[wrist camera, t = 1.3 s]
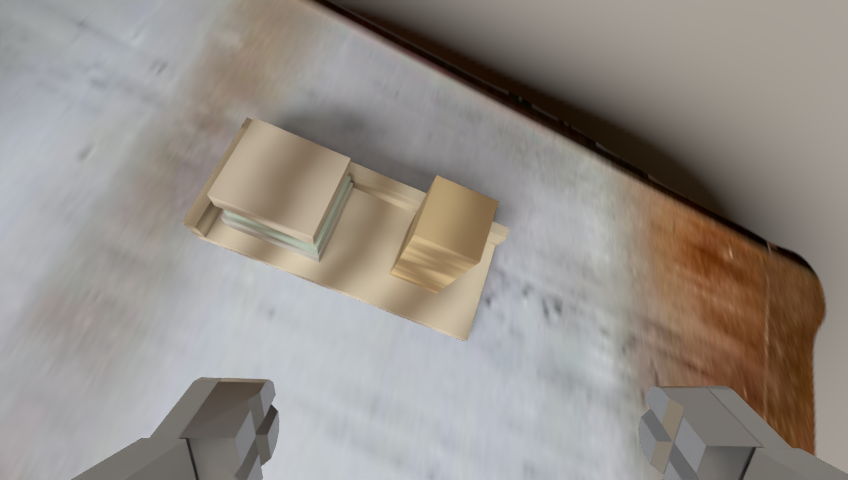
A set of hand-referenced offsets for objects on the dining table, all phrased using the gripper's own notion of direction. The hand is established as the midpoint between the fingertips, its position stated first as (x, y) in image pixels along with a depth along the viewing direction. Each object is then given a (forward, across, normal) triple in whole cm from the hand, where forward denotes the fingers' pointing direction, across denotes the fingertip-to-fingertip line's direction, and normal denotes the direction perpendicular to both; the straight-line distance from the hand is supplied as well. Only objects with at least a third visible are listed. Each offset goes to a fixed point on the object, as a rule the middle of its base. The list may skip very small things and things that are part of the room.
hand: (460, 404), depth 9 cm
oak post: (+26, +1, +8) cm, 27 cm away
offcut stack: (+26, +12, +4) cm, 29 cm away
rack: (+27, +7, +7) cm, 28 cm away
